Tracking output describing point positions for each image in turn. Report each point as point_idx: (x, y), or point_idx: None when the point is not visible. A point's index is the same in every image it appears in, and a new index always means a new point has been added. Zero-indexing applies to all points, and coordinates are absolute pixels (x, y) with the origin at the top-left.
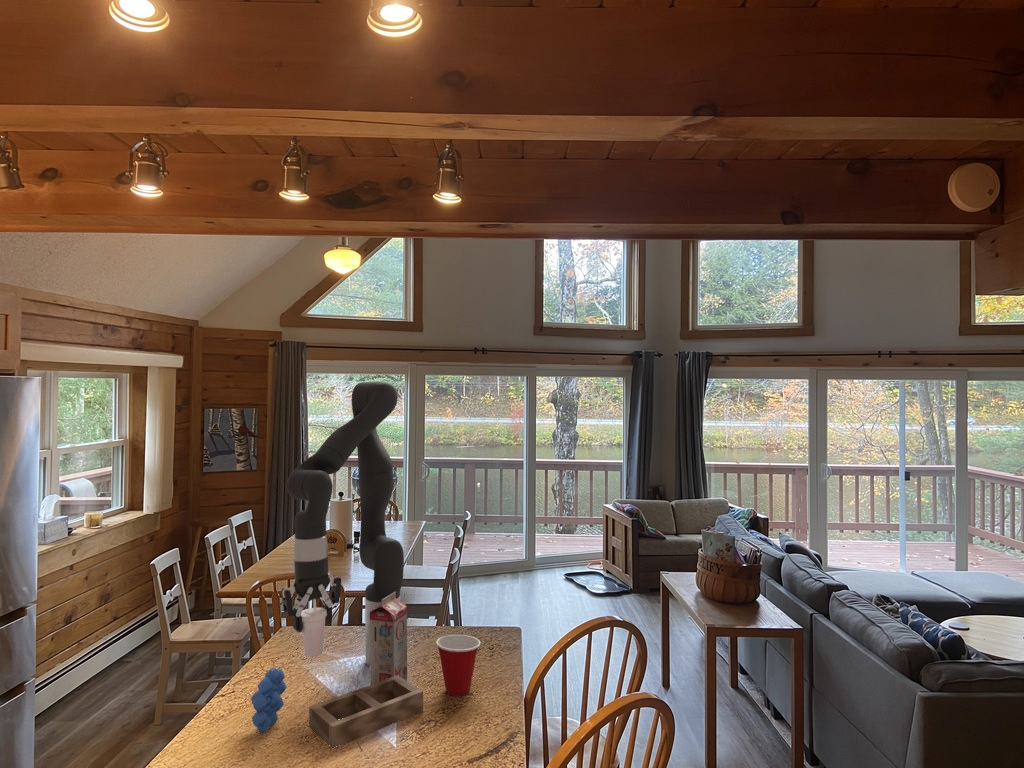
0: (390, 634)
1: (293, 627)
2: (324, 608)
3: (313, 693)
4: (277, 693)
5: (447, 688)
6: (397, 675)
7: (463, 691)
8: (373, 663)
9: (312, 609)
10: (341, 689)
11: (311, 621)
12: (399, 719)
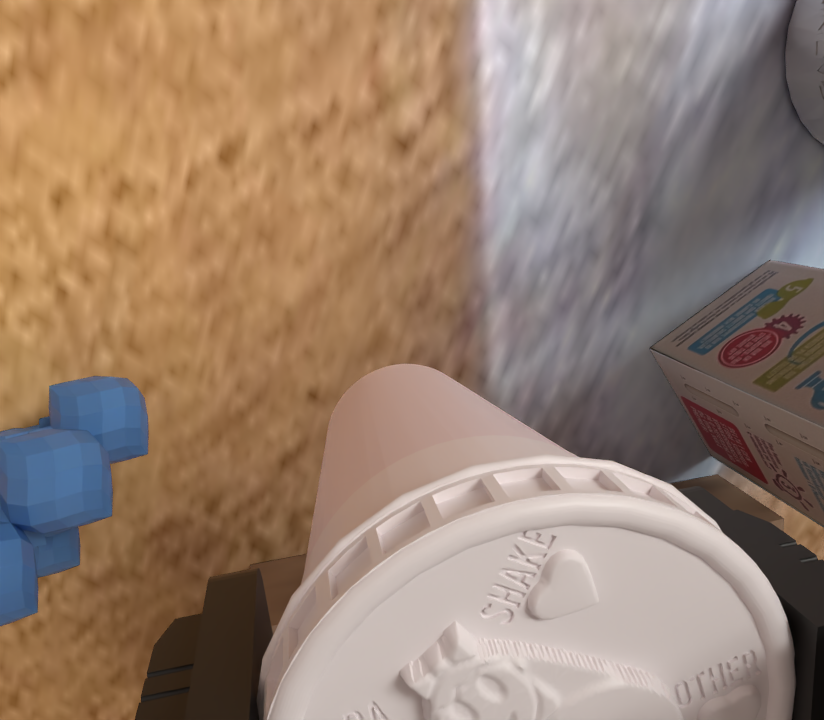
0: None
1: (160, 652)
2: (796, 672)
3: (385, 205)
4: (54, 560)
5: None
6: (782, 524)
7: None
8: (753, 411)
9: (611, 584)
10: (532, 258)
11: None
12: None
